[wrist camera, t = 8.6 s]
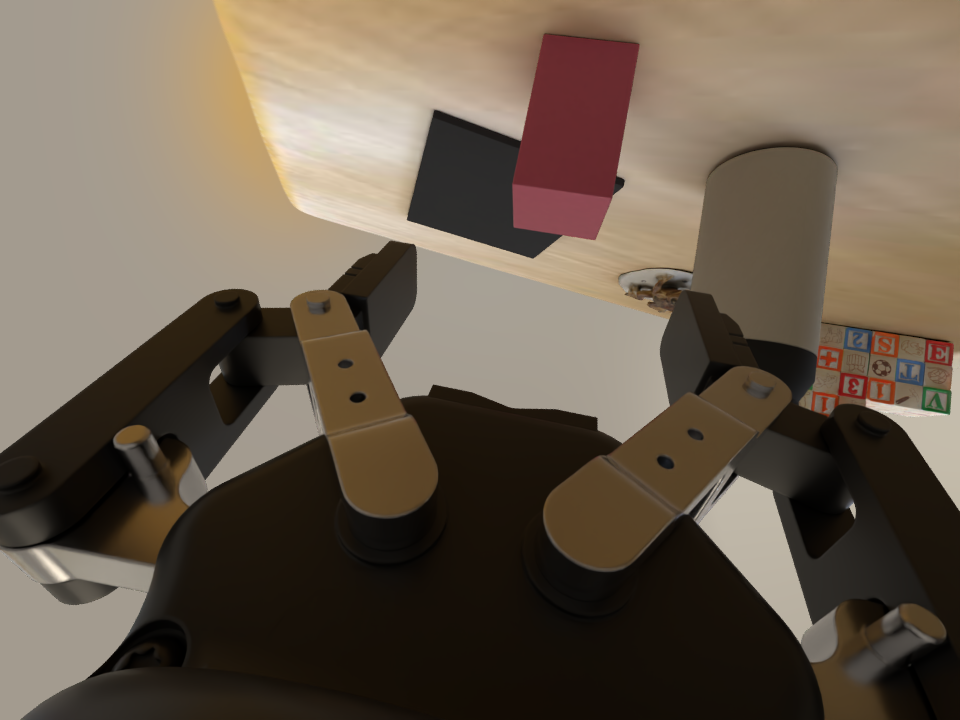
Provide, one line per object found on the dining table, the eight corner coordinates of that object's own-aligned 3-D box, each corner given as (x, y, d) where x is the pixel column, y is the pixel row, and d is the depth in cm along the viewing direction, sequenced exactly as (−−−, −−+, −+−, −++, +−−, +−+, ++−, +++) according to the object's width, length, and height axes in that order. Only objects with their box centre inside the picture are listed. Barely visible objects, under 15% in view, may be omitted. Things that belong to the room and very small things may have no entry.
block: (543, 33, 25) (512, 184, 23) (639, 43, 24) (612, 198, 23) (539, 101, 30) (513, 227, 28) (618, 111, 29) (595, 240, 28)
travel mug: (844, 131, 27) (812, 427, 25) (832, 199, 33) (806, 438, 31) (699, 154, 31) (661, 405, 29) (713, 209, 38) (683, 419, 36)
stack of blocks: (956, 341, 55) (950, 440, 54) (916, 350, 62) (909, 439, 60) (769, 314, 59) (758, 405, 58) (749, 325, 65) (738, 408, 64)
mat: (434, 109, 33) (432, 117, 33) (625, 180, 36) (623, 186, 36) (407, 215, 52) (406, 220, 52) (534, 254, 56) (533, 258, 56)
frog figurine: (646, 258, 50) (641, 291, 50) (741, 284, 52) (736, 316, 51) (602, 285, 61) (597, 311, 61) (681, 305, 63) (677, 332, 63)
